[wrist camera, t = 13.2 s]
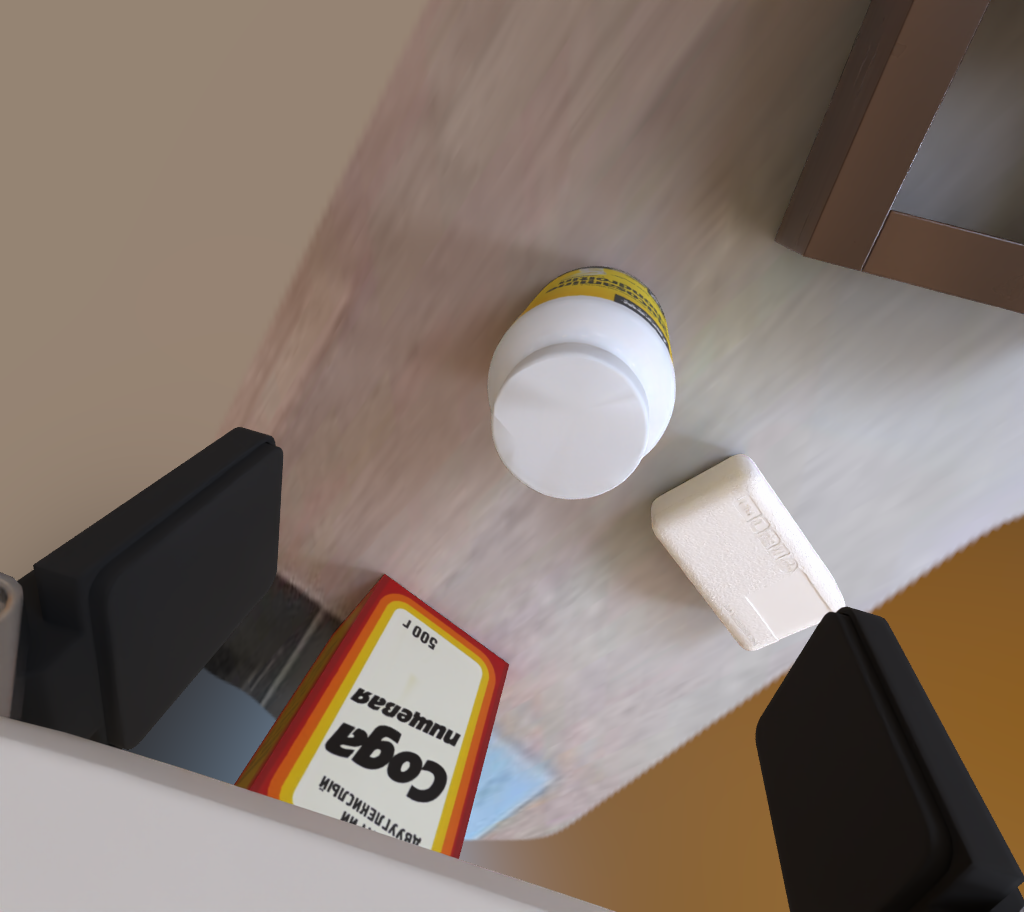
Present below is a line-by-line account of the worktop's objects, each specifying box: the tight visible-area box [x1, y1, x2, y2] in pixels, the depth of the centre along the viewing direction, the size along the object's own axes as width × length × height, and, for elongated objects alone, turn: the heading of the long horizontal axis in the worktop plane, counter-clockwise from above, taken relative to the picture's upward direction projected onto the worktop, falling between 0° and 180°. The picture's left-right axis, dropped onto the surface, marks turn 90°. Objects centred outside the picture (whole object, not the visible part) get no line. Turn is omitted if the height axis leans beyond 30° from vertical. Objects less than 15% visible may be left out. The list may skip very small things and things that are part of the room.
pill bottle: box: [487, 266, 676, 499], centre depth 23 cm, size 6×6×12 cm
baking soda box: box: [234, 574, 509, 859], centre depth 31 cm, size 10×6×16 cm
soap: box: [651, 454, 845, 651], centre depth 30 cm, size 9×6×3 cm, turn 39°
